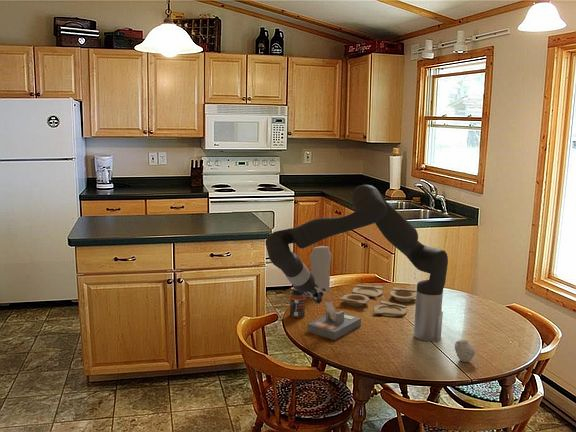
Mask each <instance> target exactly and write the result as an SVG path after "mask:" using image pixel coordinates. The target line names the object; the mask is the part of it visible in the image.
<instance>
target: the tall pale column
mask: <svg viewBox="0 0 576 432" xmlns="http://www.w3.org/2000/svg"><path fill="white" fill-rule="evenodd" d="M331 262H332V252H330V247H329V246H325V245H319V246H316V247H312V252H311V253H310V255H309V263H310V272H311V273H312V275H313V276H314V279H315V284H316V285H318V288H319V289H323V288H324V289H326V291H325V292H326V293H330V285H331V284H330V283H331V281H330V280H331V277H330V272H331V271H330V268H331V266H330V265H331Z"/></svg>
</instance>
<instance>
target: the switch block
mask: <svg viewBox="0 0 576 432" xmlns="http://www.w3.org/2000/svg"><path fill="white" fill-rule="evenodd" d="M361 326H362V317H359V316H358V317H357V316H354V315H350V314H346V313H345V311H344V310H341V311H336V321H334V320H331V319H330V313H329V310H328V309H326V310H325V315H323V316H321V317H320V318H316V319H315V320H313V321H311V322H309V323H307V328H306V329H307V330H306V331H307V332H308V333H310V334H314V335H316V336H320V337H323V338H326V339H330V340H333V341H335V340H337V339H339V338H341V337H343V336H345V335H347V334H348V333H350V332H352V331H354V330H355V329H359V328H360V327H361Z"/></svg>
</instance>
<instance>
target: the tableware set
mask: <svg viewBox="0 0 576 432" xmlns="http://www.w3.org/2000/svg"><path fill="white" fill-rule="evenodd" d="M355 286H356V287H354V288H352V291H351V293H347V294H345V295H342V297H338V301H342V302H345V303H346V304H347V306H351V307H356V308H358V307H363V306H364V305H365V304H367V303H369V302H370V298H378V297H380V296H382V295H383V290H381V289H384V288H383V287H384V286H383V285H364V284H356V285H355ZM391 289H392V290H391V291H390V292H389V294H390V296H391V297H393V298H394V301H397V302H400V303H410V302H411V301H413V300H412V299H416V292H417V289H411V288H402V287H396V286H395V287H392V288H391ZM379 303H380V304H377V305H375V306H374V307H373V314H375V315H376V314H377V315H380V316H384V317H400V316H404V315H406V313H407V308H408V306H406V305H404V304H399V303H394V302H391V301H390V302H389V301H385V300H379Z"/></svg>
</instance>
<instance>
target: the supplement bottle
mask: <svg viewBox="0 0 576 432" xmlns="http://www.w3.org/2000/svg"><path fill="white" fill-rule="evenodd" d="M289 302H290V303H289V304H290V305H289V316H290V317H292V318H295V319H302V318H304V317H305V313H306V296H305V295H304V294H302V293H301V292H299V291H297V290H296V289H294V287H293V288H292V293H291V294H290V301H289Z"/></svg>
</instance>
